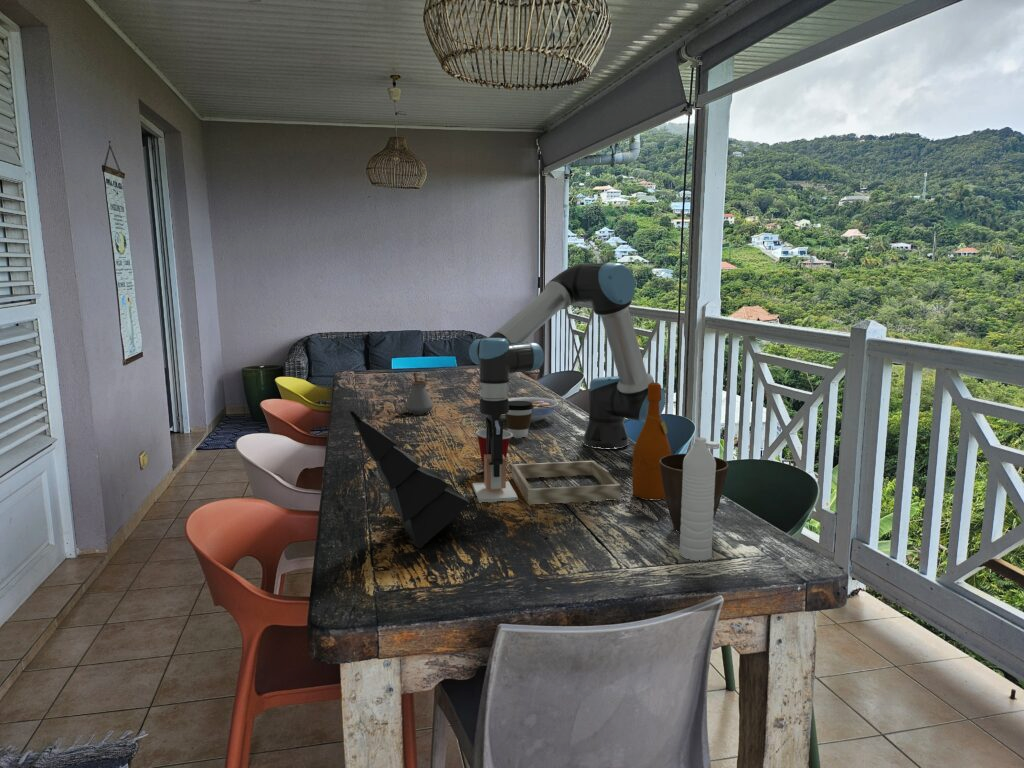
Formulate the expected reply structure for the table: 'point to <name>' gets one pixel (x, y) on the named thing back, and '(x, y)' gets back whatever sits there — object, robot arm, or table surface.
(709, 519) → the water bottle
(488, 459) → the block
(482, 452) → the plastic cup
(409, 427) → the table surface
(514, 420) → the coffee cup
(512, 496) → the pad
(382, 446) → the decorative tree
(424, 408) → the coffee pot
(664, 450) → the wine bottle
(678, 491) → the plant pot
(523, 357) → the robot arm
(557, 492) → the frame
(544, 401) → the ramen bowl
